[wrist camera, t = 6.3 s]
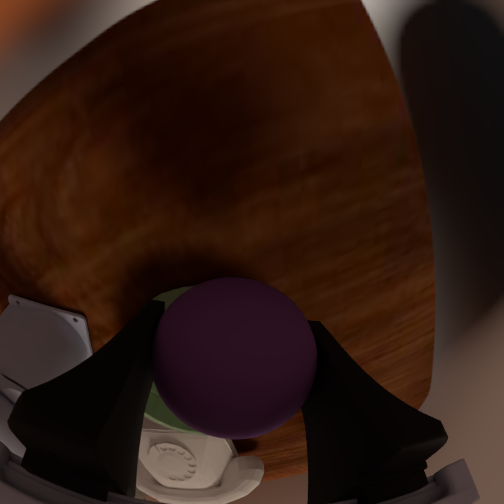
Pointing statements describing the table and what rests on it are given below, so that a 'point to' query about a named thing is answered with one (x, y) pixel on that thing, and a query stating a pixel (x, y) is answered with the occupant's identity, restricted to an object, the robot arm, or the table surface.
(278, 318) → the purple ball
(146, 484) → the telephone
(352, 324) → the table surface
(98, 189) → the table surface
